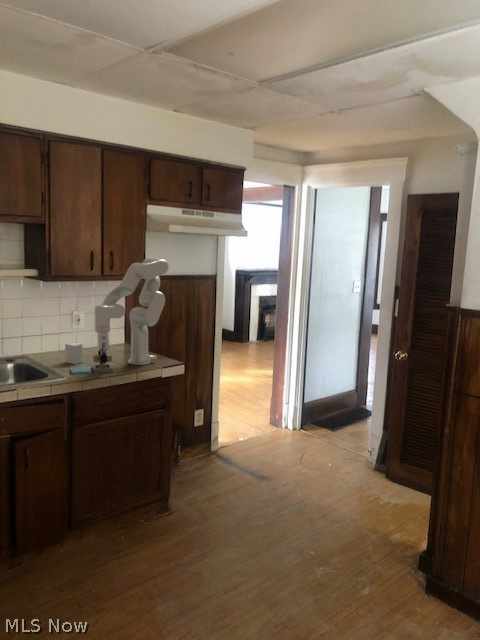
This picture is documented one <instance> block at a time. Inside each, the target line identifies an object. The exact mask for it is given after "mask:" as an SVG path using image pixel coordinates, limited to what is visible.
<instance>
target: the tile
mask: <svg viewBox="0 0 480 640" xmlns="http://www.w3.org/2000/svg"><path fill="white" fill-rule="evenodd" d="M69 371H70V372H71V375H80V374H81V375H82V374H83V375H85V374H86V375H87V374H93V373H92V372H93V370H92V367H91V366H76V367H73V366H72V367H70V369H69Z"/></svg>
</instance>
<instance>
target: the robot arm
mask: <svg viewBox="0 0 480 640" xmlns="http://www.w3.org/2000/svg"><path fill="white" fill-rule="evenodd" d="M169 268H170V267H169V263H168V262H167V260H166V259H163V258H162V259H161V258H151V257H150V258H145V259H144V260H143V261H142V262H134V263H131V264H130V266H129V267H128V269H127V271H126V273H125V274H124V276H123V278H122V280H121V281H120V284H119V285H117V286H116V287H115V288H113V289H112V290H111V291H110V292H108V294H107V295H106V297H105V298H104V300H103V302H102V304H98V305H96V306H95V307H94V332H95V333H97V335H96V336H97V337H96V338H97V342H96V343H97V349H98V351H97V352H98V353H97V355H101V363H106V364H107V354H108V351H109V350H110V347H109V346H110V345H109V344H110V342H109V341H110V340H109V333H110V331H111V319H121V318H122V317H124V316H125V314H126V309H125V307H124V306H123V305H121V304H118V301H120V300H121V299H122V298H125V297H127V296H129V295H131V294H133V293H134V292H135V290H136V289H137V287H138V285H139V283H140V281H141V280H142V279H143V280H145V281H144V284H143V287H142V289H141V292H140V294H139V296H138V298H139V299H138V302H139V304H140V305H141V307H140V306H137V307H133V308H131V310H130V312H129V322H130V358H129V359H128V361H127V362H128V364H129V365H137V366H140V365H141V366H143V365H149V364H151V363H152V362H151V361H152V360H156V359H157V355H152V354H151V355H150V354H149V327H153V326H155V325H156V324H157V323H158V322H159V320H160V318H161V317H160V316H161V314H162V312H163V310H164V306H165V302H166V298H165V294H164V293H162V292H161V291H159V289H160V286H161V278H160V277H161V276H163V275H165V274H167V272H168V271H169Z"/></svg>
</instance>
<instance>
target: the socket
mask: <svg viewBox="0 0 480 640" xmlns="http://www.w3.org/2000/svg"><path fill="white" fill-rule="evenodd" d="M91 370H92V372H93V374H101V373H102V374H103V373H104V374H105V373H114V372H115V371H114V367H113V365H112V363H106V368H99V363H98V364H91Z"/></svg>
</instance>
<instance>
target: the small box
mask: <svg viewBox="0 0 480 640" xmlns="http://www.w3.org/2000/svg"><path fill="white" fill-rule="evenodd" d="M64 346H65V347H64V356H65V363H69V364H72V365H73V364H74V365H78V364H82V363H83V361H84V359H83V358H84V357H83V354H84V353H83V350H84V348H83V344H82V343H79V342H78V343H77V342H68V343H65V345H64Z"/></svg>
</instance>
